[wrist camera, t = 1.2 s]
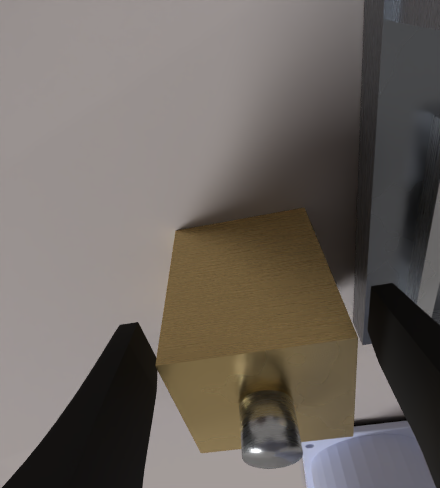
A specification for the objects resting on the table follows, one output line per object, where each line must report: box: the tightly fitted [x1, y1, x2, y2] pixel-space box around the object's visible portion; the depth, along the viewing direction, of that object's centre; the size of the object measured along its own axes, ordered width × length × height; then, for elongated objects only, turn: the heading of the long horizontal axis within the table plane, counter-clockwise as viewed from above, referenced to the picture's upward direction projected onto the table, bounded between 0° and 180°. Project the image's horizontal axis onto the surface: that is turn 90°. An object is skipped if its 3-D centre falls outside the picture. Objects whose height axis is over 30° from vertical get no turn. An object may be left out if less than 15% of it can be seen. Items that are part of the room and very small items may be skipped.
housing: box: [155, 208, 358, 469], centre depth 11 cm, size 4×4×7 cm
